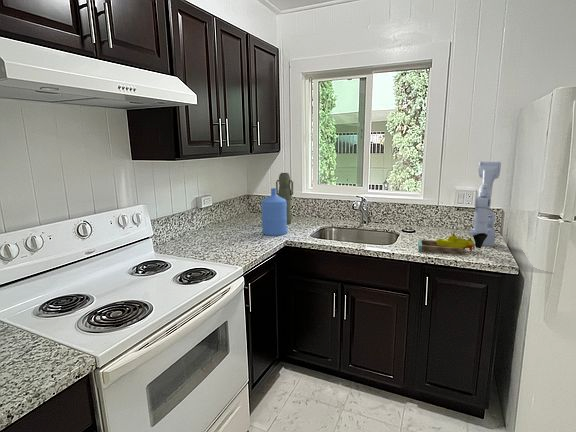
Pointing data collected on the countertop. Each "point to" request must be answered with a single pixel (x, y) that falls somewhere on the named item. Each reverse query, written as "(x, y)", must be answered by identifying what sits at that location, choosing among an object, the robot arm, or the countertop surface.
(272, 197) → the water jug
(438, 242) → the yellow piece
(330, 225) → the countertop surface
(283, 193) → the thermos
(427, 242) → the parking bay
